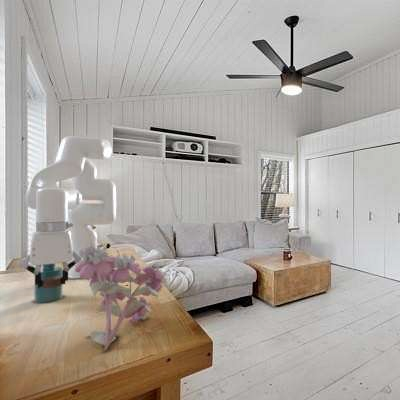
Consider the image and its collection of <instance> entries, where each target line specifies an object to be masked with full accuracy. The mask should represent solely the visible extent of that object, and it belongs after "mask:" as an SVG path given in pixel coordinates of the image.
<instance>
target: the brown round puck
mask: <svg viewBox="0 0 400 400" xmlns="http://www.w3.org/2000/svg"><path fill="white" fill-rule="evenodd" d="M61 285H62V276H51V277H46V278H43V279H41V288H55V287H59V286H61Z"/></svg>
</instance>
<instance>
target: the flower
mask: <svg viewBox="0 0 400 400" xmlns="http://www.w3.org/2000/svg"><path fill="white" fill-rule="evenodd" d="M85 250H86V251H84V250H82V249H81V250H80V253H79V255H80V256H81V257H83V260H81V261H79V262H78V263H77V265H76V266H75V272H79V276H80V278H79V279H81V280H85V281H89V287H90V290H91V292H92V294H93V298H95V297H96V295H97V293H98V292H99V295H100V296H101V297H102V298H103V299H102V300H101V301H100V303H99V308H98V309H97V311H96V314H98V313H99V312H105V315H106V325H105V329H97V330H91V331H88V333H89V338H91V340H92V341H93V342H94V343H95V342H96V343H98V344H100V345H103V346H104V348H103V350H104V351H108V348H109V347H110V345H111V343H113V342H114V341H115V340H116V339H117V337H116V334H117V333H118V331H119V328H120V326H121V325H122V323H123V322H124V320H125V319H127V320H128V319H129V320H128V324H134V323H138V322H139V320H141V321H144V320H146V319H147V315H148V314H150V313H151V312H152V309H151V308H149V306H150V305H151V304H150V303H148V301H147V298H145V297H150V295H151V296H152V297H155V300H158V297H159V293H160V292H161V289H162V288H163V284H165V283H166V282H167V280H168V278H166V277H165V276H167V271H162V270H159V269H160V266H157V267H153V266H150V265H146V266H142V267H141V266H140V264H139V263H138V262H135V261H136V260H137V258H136V256H135V255H134V254H131V255H130V256H129V253H128V252H127V253H123V254H122V257H121V254H120V250H117V254H118V255H116V256H111V255H110V256H109V253H108V252H107V244H104V245H103V247H102V249H101V246H97V249H95V248H94V246H93V243H91V244H90V245H89V246H88V248H87V249H86V248H85ZM81 268H82V269H81ZM115 268H116V269H115ZM80 270H81V271H80ZM130 272H133V273H134V274H136V276H135V278H134V277H133V276H130ZM141 272H144V273H141ZM127 282H128V283H129V287H125V286H122V285H120V284H124V283H127ZM119 283H120V284H119ZM132 283H133V284H136V285H138V286H137V287H136V288H135V289H134V291H133V292H132ZM143 285H144V286H143ZM140 295H141V296H140ZM138 296H139V298H138V299H137V297H138ZM125 298H128V299H127V300H126V301H125V302H126V304H125V306H124V308H122V309H121V307H120V305H119V303H118V300H119V301H123V300H125ZM113 303H114V304H113ZM112 315H113V316H114V317H118V319H117V322H116V324H115V326H114V327H113V329H112Z"/></svg>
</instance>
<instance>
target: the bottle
mask: <svg viewBox="0 0 400 400" xmlns="http://www.w3.org/2000/svg"><path fill="white" fill-rule="evenodd" d="M40 271H41V279H43V278H46V277H51V276H62V271H63V266H62V267H61V266H56V264H47V265H42V268H41V269H40ZM33 283H34V289H33V290H34V291H33V292H34V293H33V294H34V295H33V301H34V303H37V304H43V303H45V304H46V303H51V302H55V301H58V300H62V298H63V285H64V284H62V285H61V286H59V287H55V288H41V287H40V288H38V285H35V280H34V282H33Z"/></svg>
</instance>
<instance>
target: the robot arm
mask: <svg viewBox="0 0 400 400" xmlns="http://www.w3.org/2000/svg"><path fill="white" fill-rule="evenodd" d="M112 152H113V148H112V144H111V142H110V141H109V140H108V139H104V138H100V137H95V136H94V137H92V136H80V135H68V136H65V137H63V138H62V140H61V141H60V144H59V146H58V151H57V153H56V157H55V159H54V163H52V164H50V165H48V166H46V167H44V168H42V169H41V170H39V171H38V172H36V173H35V174H33V176H32V177H31V179H30V180H29V184H28V186H27V189H26V192H25V196H24V197H25V198H24V199H25V204H26V206H27V207H28V208H30V209H31V210H35V231H33V232H32V235H31V239H30V248H29V254H28V255H27V256H26V257H25V258H23V260H22V261H21V262H20V263H19V265H18V266H19V267H21V268H23V269H24V270H27V271H28V272H30V273H32V274H33V275H34V281H35V285H38V288H40V287H41V271H40V269H42V268H43V265H47V264H55V265H56V264H61V265H62V268H63V271H62V284H63V285H66V282H67V281H69V279H70V280H71V279H72V280H75V279H77V280H78V279H81V278H80V276H79V272H75V266H76V265H77V263H78V262H79V261H81V260H83V257H81V256H80V255H79V253H80V250H81V249H82V250H84V251H86V250H85V248H86V249H87V248H88V246H89V245H90V244H91V243H93V246H94V248H95V249H97V247H98V235H97V232H96V230H95V229H94V228H92V226H100V225H101V226H102V225H103V226H105V225H112V224H113V223H115V221H116V219H117V187H116V183H115V182H114V181H113V180H111V179H105V178H97V167H96V165H95V164H94V163H93V161H91V160H108V159H109V158H111V156H112ZM70 179H71V187H57V186H50V185H52V184H55V183H58V182H61V181H66V180H70ZM83 201H102V202H103V203H95V202H94V203H91V202H89V203H88V202H84V203H83ZM68 229H69V230H68ZM29 263H30V264H29ZM34 266H35V267H34ZM81 269H82V268H81ZM80 271H81V270H80Z"/></svg>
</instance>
